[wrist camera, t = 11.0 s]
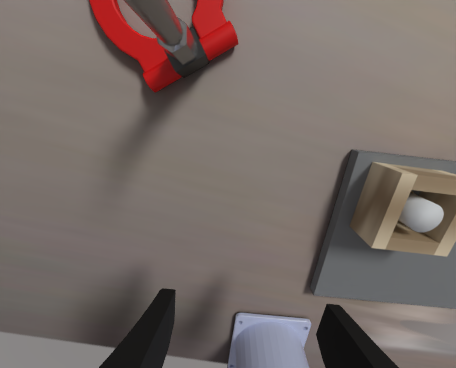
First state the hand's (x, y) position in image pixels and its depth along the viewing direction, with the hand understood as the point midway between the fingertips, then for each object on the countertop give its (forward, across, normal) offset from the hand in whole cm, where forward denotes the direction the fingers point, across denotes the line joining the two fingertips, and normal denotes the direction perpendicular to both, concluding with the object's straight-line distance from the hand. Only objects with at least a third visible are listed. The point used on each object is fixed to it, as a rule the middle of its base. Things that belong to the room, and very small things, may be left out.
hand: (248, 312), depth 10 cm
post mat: (+9, -16, 0) cm, 19 cm away
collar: (+8, -12, -4) cm, 15 cm away
